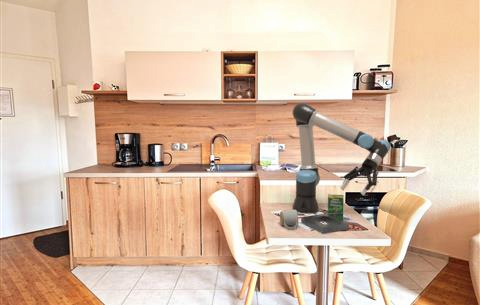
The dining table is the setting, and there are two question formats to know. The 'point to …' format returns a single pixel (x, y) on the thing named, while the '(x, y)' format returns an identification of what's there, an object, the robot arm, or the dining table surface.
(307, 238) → the dining table surface
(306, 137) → the robot arm
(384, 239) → the dining table surface
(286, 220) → the ceramic mug
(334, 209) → the coffee box
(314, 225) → the housing
